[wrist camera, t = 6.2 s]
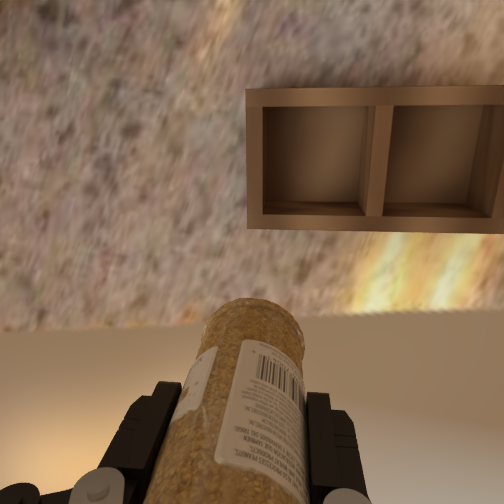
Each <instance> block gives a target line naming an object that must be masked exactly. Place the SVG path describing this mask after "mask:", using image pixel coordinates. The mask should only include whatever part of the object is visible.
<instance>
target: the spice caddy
mask: <svg viewBox="0 0 504 504" xmlns="http://www.w3.org/2000/svg"><path fill="white" fill-rule="evenodd" d="M246 163H247V229H277V230H328V231H378V232H429V233H479V234H504V85H491V86H418V87H345V88H272V89H246Z"/></svg>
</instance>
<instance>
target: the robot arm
mask: <svg viewBox="0 0 504 504" xmlns="http://www.w3.org/2000/svg"><path fill="white" fill-rule="evenodd" d="M181 392H182V386H181V383H179V382H165V381H159V382H158V384H157V385H156V387H155V390H154V392H153V394H152V396H143V395H142V396H141V397H140V398H139V399H137V400H136V401H135V402H134V403H133V404H132V405H131V406H130V408H129V410H128V411H127V413H126V415H125V417H124V420H123V421H122V423H121V424H120V426H119V430H118V431H117V432H116V434H115V436H114V438H113V439H112V441H111V443H110V445H109V447H108V449H107V451H106V453H105V455H104V456H103V458H102V460H101V462H100V464H99V466H98V467H97V469H95V470H92V471H90V472H88V473H87V474H85V475H84V476H82V477H81V478H80V479H79V480H78V481H77V483H76V484H75V485H74V488H71V489H69V490H65V491H60V492H55V493H50V494H46V495H41V496H40V493H39V490H38V488H37V487H36V486H35V485H33V484H30V483H17V484H13V485H10V486H8V487H5V488H4V489H2V490H0V504H143V502H144V499H145V497H146V494H147V490H148V487H149V482H150V478H151V475H152V472H153V468H154V465H155V462H156V459H157V457H158V454H159V451H160V448H161V446H162V443H163V441H164V438H165V435H166V432H167V429H168V427H169V424H170V421H171V419H172V416H173V413H174V411H175V408H176V405H177V402H178V400H179V397H180V394H181ZM306 417H307V438H308V456H309V480H310V502H311V504H372V503H371V501H370V499H369V497H368V494H367V491H366V485H365V480H364V475H363V470H362V464H361V460H360V454H359V450H358V444H357V439H356V434H355V428H354V424H353V422H352V420H351V419H350V417H349V416H348V415H347V413H346V412H345V411H343V410H331V405H330V398H329V393H317V392H307V398H306Z"/></svg>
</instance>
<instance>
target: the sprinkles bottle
mask: <svg viewBox="0 0 504 504" xmlns="http://www.w3.org/2000/svg"><path fill="white" fill-rule="evenodd" d="M304 350H305V345H304V337H303V333H302V331H301V330H300V327H299V325H298V323H297V322H296V321H295V320H294V318H293V316H292V315H291V314H290V313H289V312H287V311H286V310H285V309H283V308H282V307H280V306H279V305H277V304H275V303H273V302H270V301H267V300H263V299H253V298H239V299H236V300H234V301H231V302H229V303H227V304H225V305H223V306H222V307H220V308H219V309H218V310H217V311H216V312H215V313H214V314H212V315H211V316H210V318H209V319H208V321H207V323H206V325H205V328H204V330H203V333H202V339H201V346H200V348H199V351H198V354H197V357H196V360H195V362H194V364H193V365H192V367H191V369H190V371H189V373H188V376H187V378H186V381H185V384H184V386H183V389H182V392H181V394H180V397H179V400H178V402H177V405H176V408H175V411H174V413H173V416H172V419H171V421H170V424H169V427H168V429H167V432H166V435H165V438H164V441H163V443H162V446H161V448H160V451H159V454H158V457H157V459H156V462H155V465H154V468H153V472H152V475H151V478H150V482H149V487H148V490H147V494H146V497H145V499H144V502H143V504H311V502H310V480H309V456H308V438H307V417H306V399H305V387H304V382H303V373H302V372H303V371H302V360H303V356H304Z"/></svg>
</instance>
